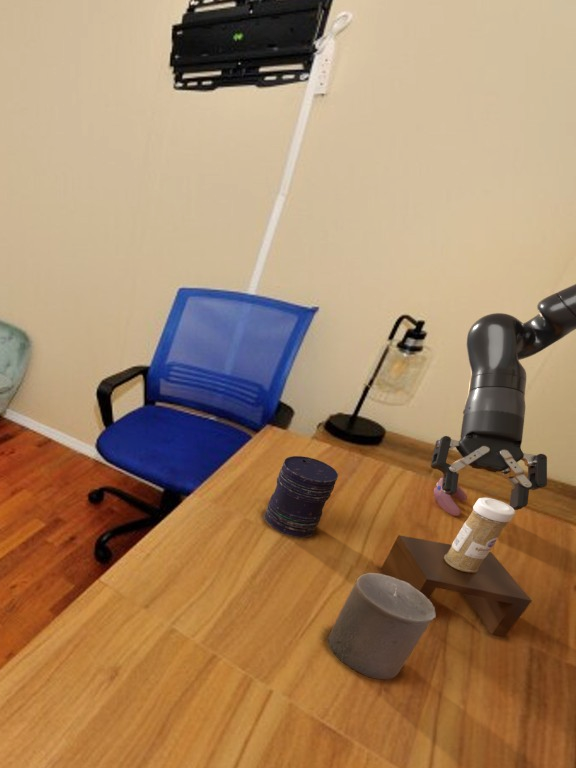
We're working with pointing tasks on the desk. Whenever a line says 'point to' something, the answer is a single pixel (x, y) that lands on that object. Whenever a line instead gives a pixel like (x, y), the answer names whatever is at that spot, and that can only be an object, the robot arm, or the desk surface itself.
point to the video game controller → (449, 499)
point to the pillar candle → (380, 625)
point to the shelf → (459, 581)
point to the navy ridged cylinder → (300, 496)
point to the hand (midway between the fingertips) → (482, 501)
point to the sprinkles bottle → (478, 534)
